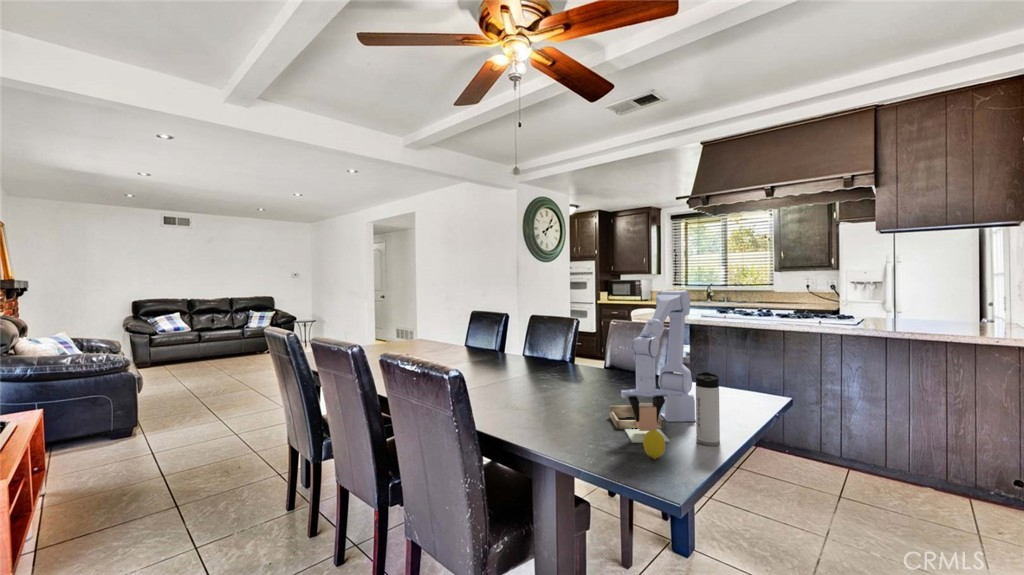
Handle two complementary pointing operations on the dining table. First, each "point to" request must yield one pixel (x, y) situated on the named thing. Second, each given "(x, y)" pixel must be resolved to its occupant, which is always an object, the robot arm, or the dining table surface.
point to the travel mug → (707, 409)
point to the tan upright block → (647, 417)
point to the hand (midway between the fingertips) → (646, 420)
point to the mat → (641, 435)
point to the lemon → (654, 444)
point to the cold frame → (627, 412)
